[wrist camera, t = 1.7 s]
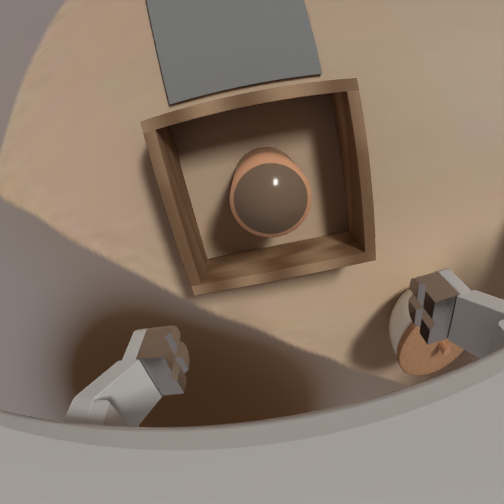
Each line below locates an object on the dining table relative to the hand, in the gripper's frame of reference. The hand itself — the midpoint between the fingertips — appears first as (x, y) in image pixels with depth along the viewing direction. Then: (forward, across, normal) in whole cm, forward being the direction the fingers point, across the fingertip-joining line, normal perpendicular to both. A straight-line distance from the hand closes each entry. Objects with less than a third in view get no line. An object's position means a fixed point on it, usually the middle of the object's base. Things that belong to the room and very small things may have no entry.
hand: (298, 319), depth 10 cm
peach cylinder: (+21, 0, 0) cm, 21 cm away
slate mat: (+21, 0, -15) cm, 26 cm away
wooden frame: (+21, 0, 0) cm, 21 cm away
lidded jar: (+21, -16, +19) cm, 33 cm away
